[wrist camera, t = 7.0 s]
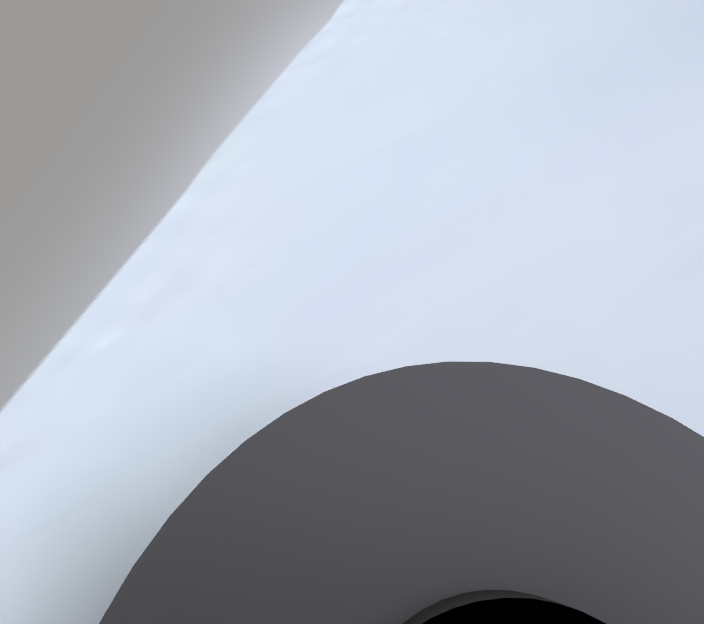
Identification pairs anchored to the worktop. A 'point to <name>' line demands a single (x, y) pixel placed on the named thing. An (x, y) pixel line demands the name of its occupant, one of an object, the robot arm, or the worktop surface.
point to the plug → (439, 511)
